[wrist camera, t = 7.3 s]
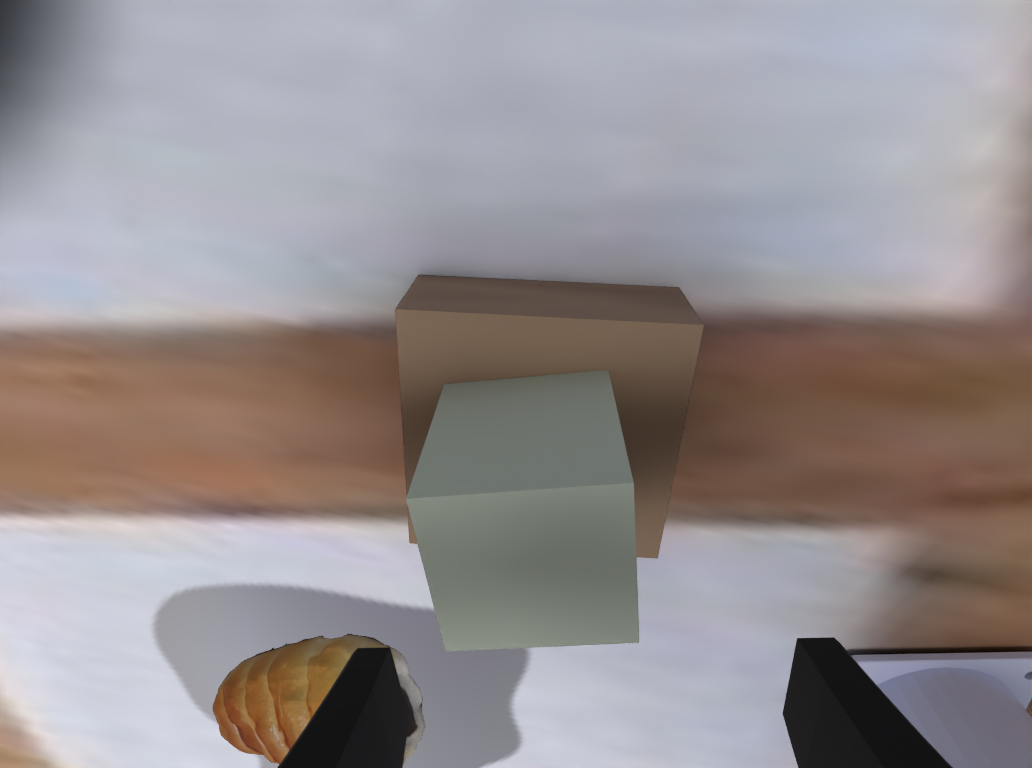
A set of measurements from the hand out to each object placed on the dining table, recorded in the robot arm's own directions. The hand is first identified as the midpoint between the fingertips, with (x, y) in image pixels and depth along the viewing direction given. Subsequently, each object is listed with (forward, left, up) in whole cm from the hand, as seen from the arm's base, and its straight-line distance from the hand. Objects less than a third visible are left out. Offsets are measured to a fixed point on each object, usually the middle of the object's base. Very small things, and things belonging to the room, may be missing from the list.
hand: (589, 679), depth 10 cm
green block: (0, +1, -7) cm, 7 cm away
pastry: (-14, +11, -11) cm, 21 cm away
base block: (0, +1, -11) cm, 11 cm away
